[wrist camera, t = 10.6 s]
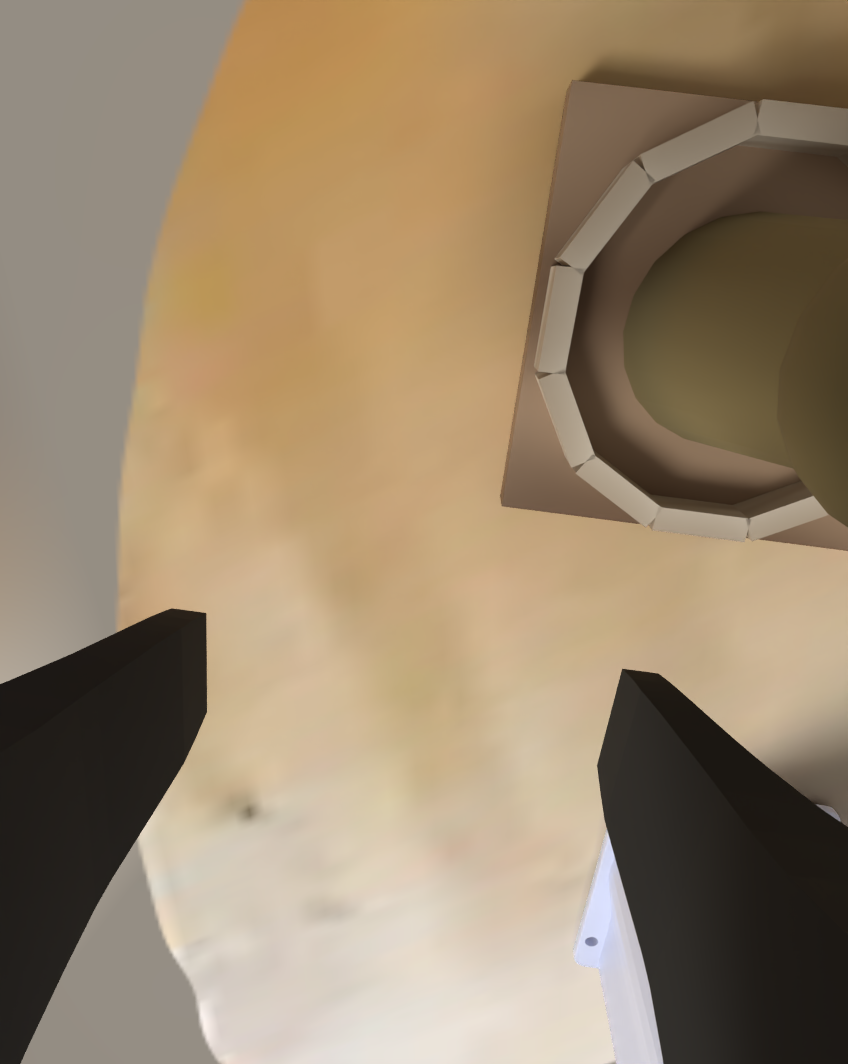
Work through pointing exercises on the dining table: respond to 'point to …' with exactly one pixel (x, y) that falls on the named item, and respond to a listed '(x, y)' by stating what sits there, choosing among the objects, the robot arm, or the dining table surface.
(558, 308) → the cup holder
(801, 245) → the cork
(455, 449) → the dining table surface
